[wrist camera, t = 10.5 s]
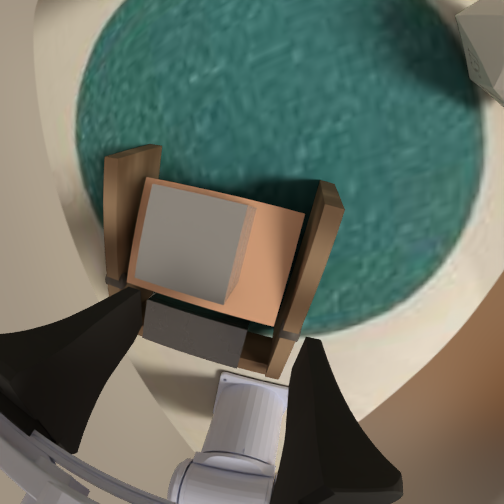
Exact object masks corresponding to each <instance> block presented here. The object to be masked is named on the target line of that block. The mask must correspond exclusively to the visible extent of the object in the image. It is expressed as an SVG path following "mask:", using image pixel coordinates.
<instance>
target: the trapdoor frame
mask: <svg viewBox="0 0 504 504" xmlns="http://www.w3.org/2000/svg"><path fill="white" fill-rule="evenodd" d="M161 151H162V146H160V145H153V144H149V145H145V146H141V147H137V148H133V149H130V150H126V151H123V152H119V153H116V154H112V155H109V156H106V157H105V160H104V192H103V209H104V242H105V258H106V271H107V274H106V278H105V280H106V283H107V284H108V291H109V297H110V296H111V295H113V294H115V293H117V292H119V291H121V290H123V289H125V288H127V287H132V288H135V289H138V290H140V291H141V309H142V324H143V325H142V327H141V329H140V331H139V333H138V335H140V336H143V327H144V319H145V311H146V304H147V299H148V298H149V297H150V296H151V295H152V293H153V291H151V290H148V289H145V288H142V287H139V286H136V285H133V284H131V283H128V282H127V276H128V269H129V262H130V256H131V249H132V244H133V238H134V232H135V227H136V222H137V217H138V212H139V207H140V202H141V198H142V193H143V189H144V185H145V181H146V177H149V178H154V179H159V169H160V160H161ZM344 211H345V209H344V206H343V204H342V201H341V199H340V196H339V194H338V191H337V189H336V187H335V184H332V183H329V182H326V181H322V180H320V182H319V185H318V189H317V192H316V196H315V199H314V203H313V206H312V210H311V213H310V217H309V220H308V224H307V227H306V230H305V234H304V237H303V240H302V243H301V247H300V250H299V253H298V256H297V260H296V263H295V266H294V269H293V272H292V276H291V279H290V282H289V285H288V288H287V291H286V294H285V297H284V300H283V303H282V306H281V309H280V312H279V315H278V318H277V321H276V324H275V327H274V332H273V337H272V338H271V337H267V336H263V335H259V334H255V333H251V332H248V331H247V334H246V338H245V342H244V345H243V349H242V352H241V356H240V359H239V363H238V366H237V367H238V368H242V369H246V370H249V371H253V372H257V373H261V374H265V377H270V378H274V379H279V377H280V375H281V373H282V371H283V368H284V366H285V364H286V362H287V359H288V357H289V355H290V353H291V350H292V348H293V346H294V343H295V342H297V341H298V339H299V336H300V333H301V328H302V324H303V322H304V320H305V317H306V315H307V312H308V310H309V307H310V305H311V302H312V300H313V297H314V295H315V292H316V289H317V287H318V284H319V282H320V279H321V276H322V274H323V271H324V268H325V266H326V263H327V260H328V257H329V255H330V252H331V249H332V246H333V243H334V240H335V238H336V235H337V232H338V229H339V226H340V223H341V220H342V217H343V214H344Z"/></svg>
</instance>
